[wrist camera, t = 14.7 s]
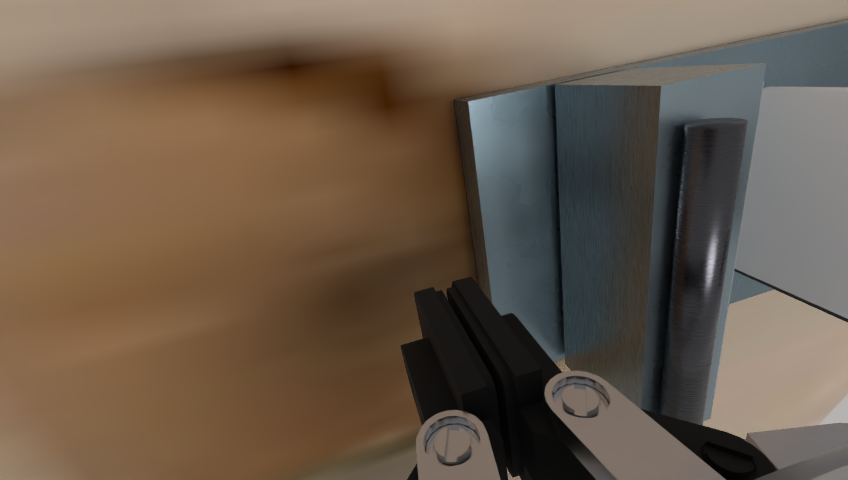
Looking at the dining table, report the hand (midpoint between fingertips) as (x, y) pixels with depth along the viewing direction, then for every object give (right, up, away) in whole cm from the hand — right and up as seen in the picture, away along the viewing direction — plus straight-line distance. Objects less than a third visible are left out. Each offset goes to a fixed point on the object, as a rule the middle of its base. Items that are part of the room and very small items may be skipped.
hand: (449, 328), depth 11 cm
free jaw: (+6, +3, +5) cm, 8 cm away
